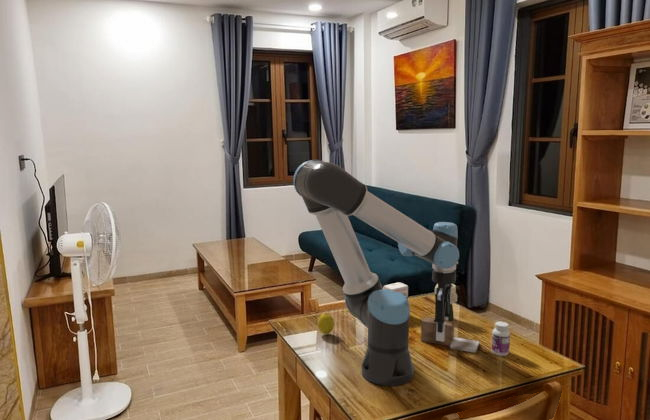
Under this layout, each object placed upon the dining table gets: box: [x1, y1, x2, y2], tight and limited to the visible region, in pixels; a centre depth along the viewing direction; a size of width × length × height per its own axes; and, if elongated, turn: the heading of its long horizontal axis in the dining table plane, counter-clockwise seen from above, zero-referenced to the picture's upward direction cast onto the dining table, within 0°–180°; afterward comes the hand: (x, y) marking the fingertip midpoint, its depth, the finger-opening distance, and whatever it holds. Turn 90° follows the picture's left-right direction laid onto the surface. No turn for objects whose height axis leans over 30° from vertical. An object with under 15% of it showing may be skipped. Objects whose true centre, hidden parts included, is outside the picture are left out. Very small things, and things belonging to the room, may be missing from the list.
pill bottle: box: [491, 321, 511, 357], centre depth 157 cm, size 5×5×10 cm
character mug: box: [434, 283, 458, 321], centre depth 185 cm, size 11×7×13 cm, turn 32°
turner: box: [420, 316, 480, 353], centre depth 164 cm, size 18×7×7 cm, turn 64°
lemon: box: [317, 312, 335, 336], centre depth 171 cm, size 6×6×8 cm
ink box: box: [382, 281, 409, 300], centre depth 189 cm, size 8×5×12 cm, turn 123°
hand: (441, 337), depth 165 cm, fingers closed on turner, 4 cm apart
